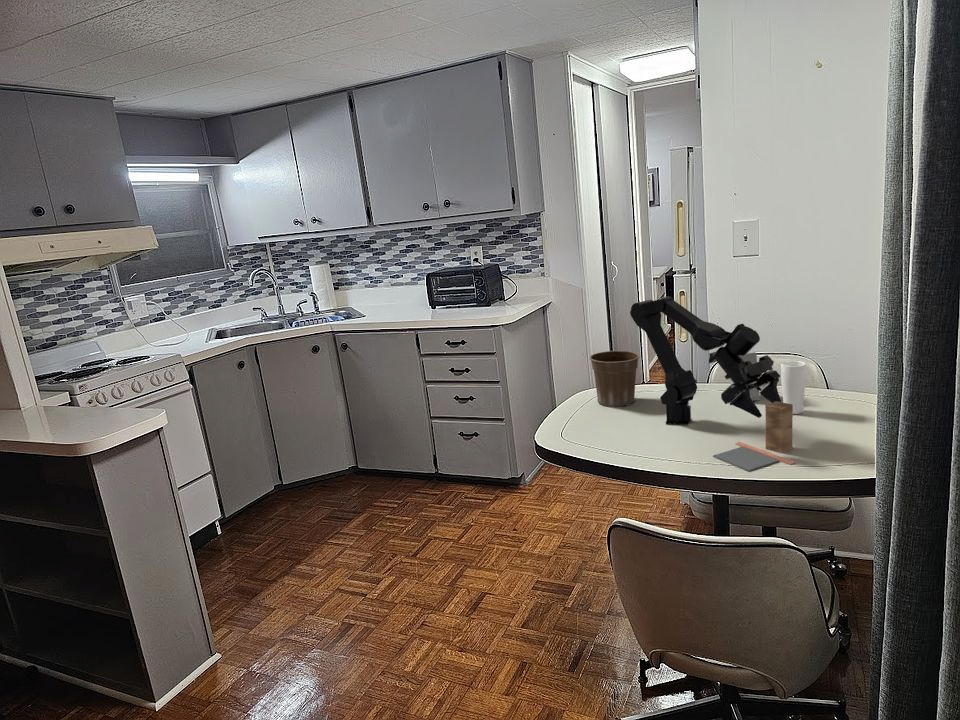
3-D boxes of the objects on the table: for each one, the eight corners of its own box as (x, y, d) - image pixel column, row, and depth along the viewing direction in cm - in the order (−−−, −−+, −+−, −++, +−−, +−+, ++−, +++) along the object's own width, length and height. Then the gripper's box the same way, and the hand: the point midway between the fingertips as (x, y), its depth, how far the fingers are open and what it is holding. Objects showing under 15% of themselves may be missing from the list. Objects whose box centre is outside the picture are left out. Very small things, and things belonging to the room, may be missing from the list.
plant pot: (641, 394, 232) (639, 349, 228) (641, 408, 217) (639, 360, 213) (594, 395, 236) (591, 351, 232) (591, 410, 221) (588, 362, 217)
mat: (713, 456, 173) (713, 455, 173) (742, 447, 177) (742, 446, 177) (748, 471, 163) (748, 470, 162) (778, 461, 166) (778, 460, 166)
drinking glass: (805, 408, 201) (806, 360, 198) (805, 416, 195) (806, 366, 192) (781, 408, 204) (781, 360, 201) (780, 415, 198) (780, 366, 195)
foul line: (735, 444, 180) (735, 443, 180) (739, 442, 181) (739, 441, 181) (790, 464, 164) (790, 463, 164) (795, 463, 165) (795, 462, 164)
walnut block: (765, 448, 175) (765, 405, 172) (776, 444, 177) (776, 401, 175) (781, 453, 171) (781, 408, 168) (792, 448, 174) (792, 404, 171)
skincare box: (760, 400, 213) (760, 352, 209) (737, 402, 213) (737, 354, 209) (750, 393, 221) (749, 346, 217) (728, 395, 221) (727, 349, 217)
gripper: (729, 354, 170) (769, 404, 163) (773, 340, 179) (812, 386, 173) (705, 379, 178) (741, 427, 171) (748, 365, 188) (784, 410, 181)
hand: (771, 412), depth 174 cm, fingers open, 9 cm apart
